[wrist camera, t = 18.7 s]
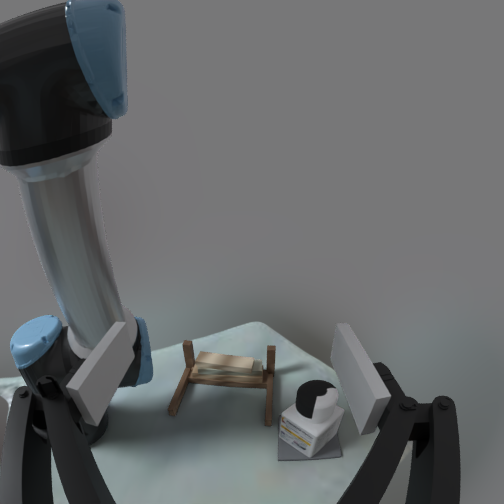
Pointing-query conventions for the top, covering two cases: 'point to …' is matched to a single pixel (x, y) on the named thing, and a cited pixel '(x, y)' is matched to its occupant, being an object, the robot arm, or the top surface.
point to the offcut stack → (227, 368)
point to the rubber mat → (292, 454)
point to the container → (312, 417)
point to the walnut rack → (187, 377)
